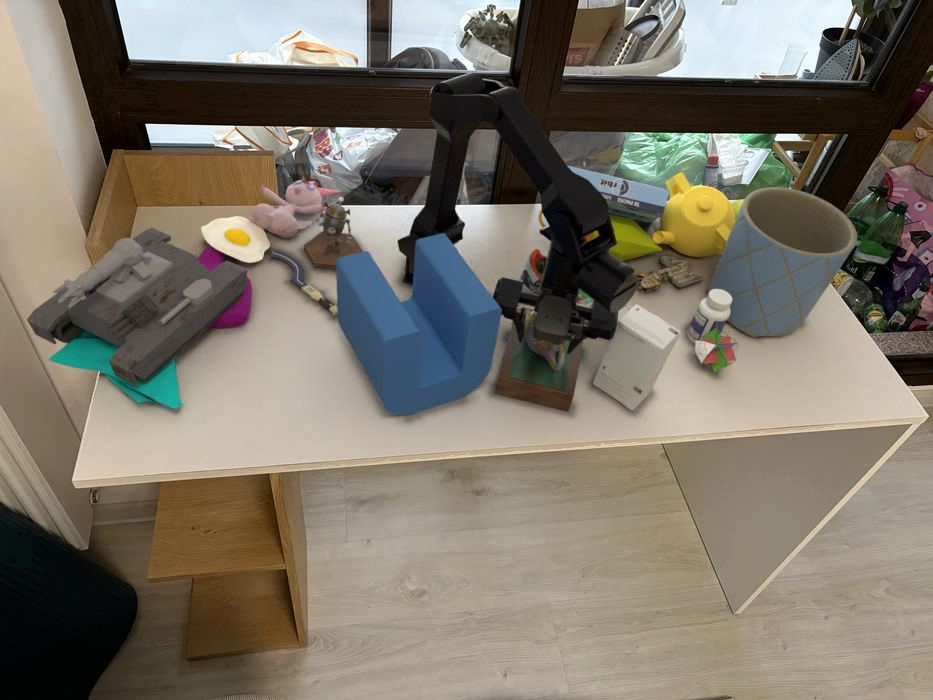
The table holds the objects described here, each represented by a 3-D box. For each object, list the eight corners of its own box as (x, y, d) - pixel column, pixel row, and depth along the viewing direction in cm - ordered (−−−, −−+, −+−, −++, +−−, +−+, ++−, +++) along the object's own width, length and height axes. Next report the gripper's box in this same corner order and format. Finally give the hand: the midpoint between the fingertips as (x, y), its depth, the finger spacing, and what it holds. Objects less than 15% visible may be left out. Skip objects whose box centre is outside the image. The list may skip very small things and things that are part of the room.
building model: (673, 254, 147) (675, 247, 146) (710, 278, 142) (713, 271, 141) (621, 281, 140) (623, 273, 139) (659, 307, 135) (661, 299, 133)
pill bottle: (717, 331, 132) (738, 291, 125) (714, 351, 128) (735, 311, 121) (688, 322, 133) (706, 282, 126) (684, 342, 129) (703, 301, 122)
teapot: (619, 220, 151) (625, 194, 140) (692, 173, 152) (703, 144, 141) (680, 295, 145) (690, 274, 134) (755, 246, 146) (772, 221, 136)
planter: (750, 355, 129) (800, 267, 114) (682, 286, 140) (719, 198, 125) (826, 326, 136) (882, 241, 121) (755, 264, 147) (799, 178, 132)
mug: (519, 327, 121) (525, 297, 117) (559, 326, 122) (567, 297, 118) (532, 382, 113) (539, 353, 108) (575, 381, 114) (584, 352, 110)
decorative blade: (277, 247, 136) (255, 257, 132) (277, 243, 135) (255, 253, 132) (355, 305, 127) (333, 317, 124) (356, 301, 127) (334, 313, 124)
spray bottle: (181, 332, 118) (192, 238, 135) (252, 328, 120) (253, 236, 137) (178, 318, 116) (189, 225, 133) (250, 314, 118) (252, 223, 135)
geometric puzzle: (756, 346, 122) (727, 374, 119) (732, 358, 128) (704, 385, 125) (727, 313, 122) (698, 340, 119) (704, 327, 129) (676, 353, 126)
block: (381, 424, 110) (384, 340, 97) (338, 343, 120) (335, 258, 107) (486, 389, 117) (502, 307, 104) (437, 315, 127) (446, 232, 114)
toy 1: (158, 250, 127) (136, 176, 116) (252, 292, 122) (238, 218, 111) (37, 341, 111) (-2, 266, 100) (139, 394, 106) (109, 320, 95)
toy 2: (228, 200, 133) (295, 150, 146) (234, 230, 138) (299, 179, 151) (294, 227, 129) (358, 174, 142) (297, 257, 134) (359, 202, 147)
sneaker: (619, 349, 126) (634, 307, 119) (509, 299, 132) (517, 256, 125) (635, 323, 131) (650, 282, 124) (528, 276, 137) (536, 235, 130)
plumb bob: (654, 245, 148) (535, 212, 146) (673, 217, 141) (548, 182, 139) (651, 281, 144) (529, 248, 142) (671, 254, 136) (542, 218, 134)
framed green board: (494, 393, 116) (497, 376, 113) (510, 333, 126) (513, 316, 123) (568, 411, 116) (574, 394, 112) (579, 350, 125) (584, 332, 122)
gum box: (562, 200, 156) (556, 191, 133) (568, 176, 155) (563, 163, 133) (652, 223, 153) (662, 218, 131) (659, 199, 152) (670, 189, 130)
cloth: (93, 300, 119) (97, 311, 121) (24, 350, 109) (28, 361, 111) (229, 357, 113) (230, 368, 115) (168, 416, 104) (170, 426, 105)
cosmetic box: (591, 385, 120) (613, 319, 109) (610, 365, 123) (634, 300, 113) (634, 413, 117) (662, 349, 106) (653, 393, 120) (682, 328, 109)
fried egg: (250, 269, 127) (251, 264, 127) (190, 234, 127) (191, 229, 127) (285, 241, 137) (286, 236, 136) (229, 208, 137) (230, 204, 136)
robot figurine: (297, 265, 132) (293, 210, 123) (306, 233, 138) (303, 179, 130) (359, 271, 133) (359, 217, 124) (365, 239, 139) (366, 185, 131)
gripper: (489, 292, 101) (476, 368, 112) (624, 323, 99) (597, 397, 110) (504, 244, 108) (491, 319, 119) (630, 272, 107) (604, 346, 118)
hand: (544, 346), depth 117 cm, fingers open, 7 cm apart
